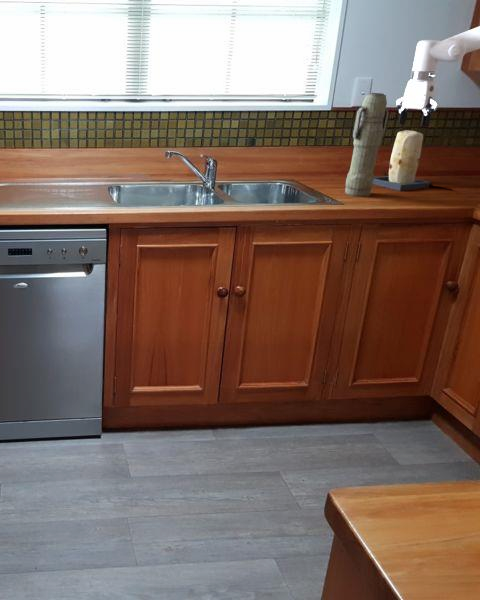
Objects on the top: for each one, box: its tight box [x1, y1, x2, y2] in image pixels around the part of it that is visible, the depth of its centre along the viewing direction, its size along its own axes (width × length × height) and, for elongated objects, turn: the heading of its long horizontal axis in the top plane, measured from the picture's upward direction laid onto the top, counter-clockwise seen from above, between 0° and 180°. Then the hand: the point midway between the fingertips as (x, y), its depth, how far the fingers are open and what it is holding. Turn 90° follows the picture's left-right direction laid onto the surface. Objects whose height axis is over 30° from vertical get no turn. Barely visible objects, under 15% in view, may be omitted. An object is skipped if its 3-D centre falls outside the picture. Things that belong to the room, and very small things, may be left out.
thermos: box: [344, 92, 390, 198], centre depth 216 cm, size 9×12×35 cm
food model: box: [388, 129, 424, 185], centre depth 233 cm, size 10×7×20 cm
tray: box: [372, 175, 431, 192], centre depth 237 cm, size 15×16×2 cm
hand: (412, 125), depth 228 cm, fingers open, 9 cm apart
